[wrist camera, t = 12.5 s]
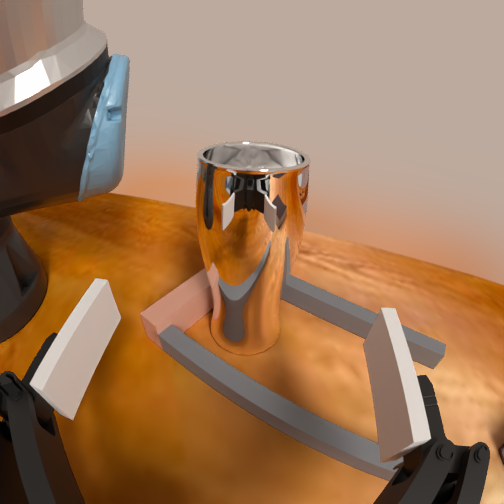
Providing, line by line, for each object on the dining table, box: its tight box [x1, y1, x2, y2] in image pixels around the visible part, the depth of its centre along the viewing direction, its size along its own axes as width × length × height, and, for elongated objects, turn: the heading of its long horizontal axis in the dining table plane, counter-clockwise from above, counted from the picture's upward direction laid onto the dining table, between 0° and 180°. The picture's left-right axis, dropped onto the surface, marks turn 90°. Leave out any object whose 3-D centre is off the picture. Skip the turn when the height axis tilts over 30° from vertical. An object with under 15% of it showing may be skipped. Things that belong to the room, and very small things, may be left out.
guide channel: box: [140, 268, 446, 481], centre depth 21 cm, size 23×13×3 cm, turn 54°
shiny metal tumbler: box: [196, 141, 310, 355], centre depth 20 cm, size 7×7×15 cm
